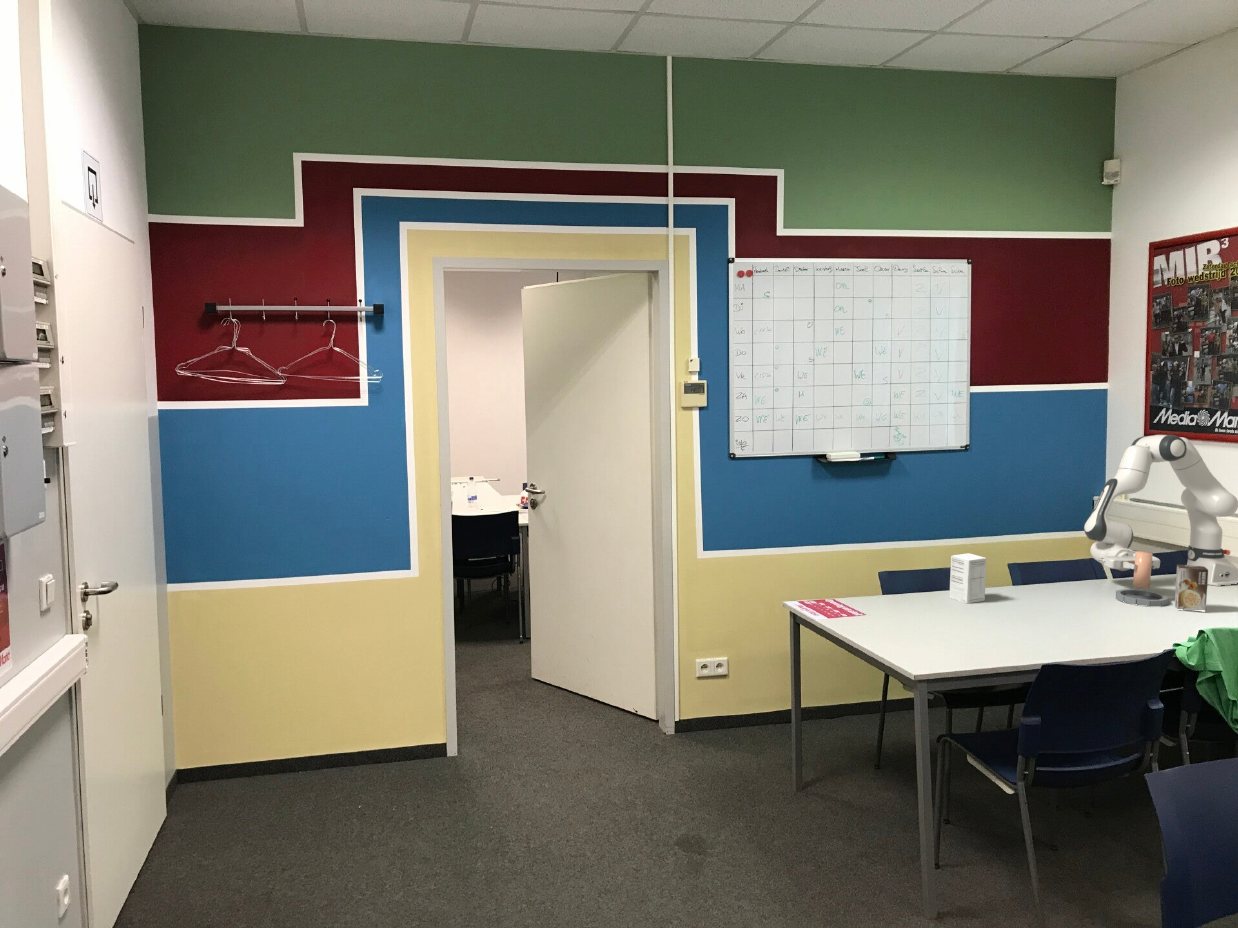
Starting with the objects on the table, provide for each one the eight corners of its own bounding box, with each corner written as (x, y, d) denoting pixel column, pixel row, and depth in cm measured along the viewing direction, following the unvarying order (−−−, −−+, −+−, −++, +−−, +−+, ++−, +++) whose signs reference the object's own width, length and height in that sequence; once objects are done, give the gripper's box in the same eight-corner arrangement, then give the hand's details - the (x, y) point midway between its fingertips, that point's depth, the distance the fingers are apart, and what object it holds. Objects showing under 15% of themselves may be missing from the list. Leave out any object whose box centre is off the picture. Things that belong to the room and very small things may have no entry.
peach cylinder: (1143, 583, 353) (1146, 550, 351) (1152, 587, 347) (1156, 554, 346) (1129, 584, 352) (1132, 550, 351) (1138, 587, 347) (1141, 554, 345)
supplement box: (966, 595, 357) (969, 552, 355) (985, 601, 349) (987, 557, 347) (948, 598, 353) (950, 554, 351) (966, 603, 345) (969, 559, 343)
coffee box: (1202, 608, 340) (1205, 566, 338) (1205, 613, 334) (1209, 569, 332) (1173, 605, 343) (1176, 563, 341) (1176, 610, 337) (1180, 567, 335)
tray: (1147, 594, 360) (1148, 588, 359) (1177, 606, 343) (1177, 600, 343) (1106, 595, 358) (1106, 589, 358) (1134, 606, 341) (1134, 601, 341)
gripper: (1097, 551, 361) (1118, 559, 347) (1146, 551, 362) (1170, 558, 349) (1095, 566, 361) (1117, 575, 348) (1145, 566, 363) (1168, 575, 349)
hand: (1144, 567), depth 348 cm, fingers closed on peach cylinder, 6 cm apart
